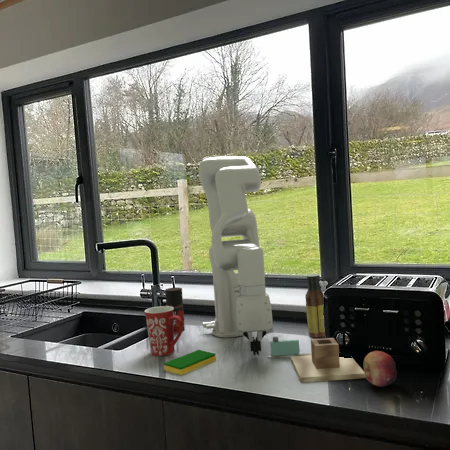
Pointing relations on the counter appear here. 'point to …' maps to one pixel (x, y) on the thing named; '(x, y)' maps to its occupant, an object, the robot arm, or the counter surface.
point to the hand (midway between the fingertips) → (256, 353)
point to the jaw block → (325, 353)
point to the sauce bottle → (315, 307)
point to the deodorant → (175, 305)
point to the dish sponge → (189, 362)
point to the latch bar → (284, 347)
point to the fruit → (380, 368)
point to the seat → (311, 374)
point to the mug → (162, 329)
